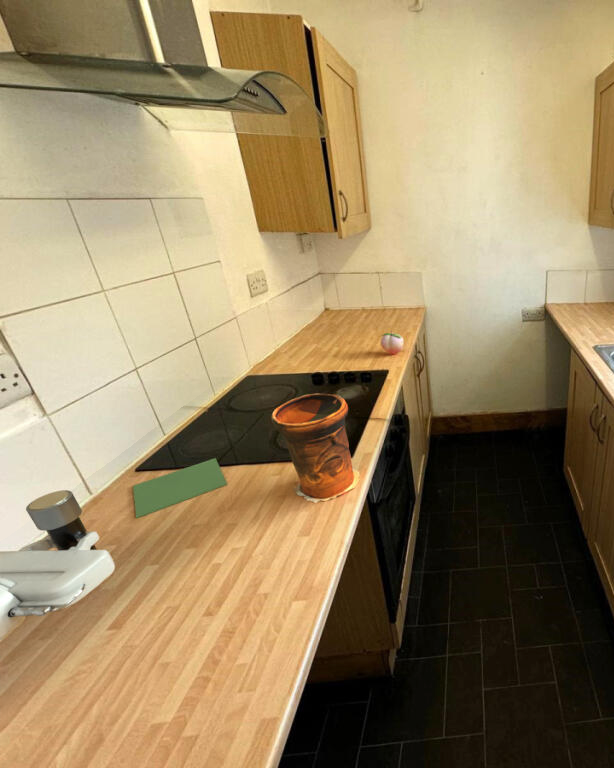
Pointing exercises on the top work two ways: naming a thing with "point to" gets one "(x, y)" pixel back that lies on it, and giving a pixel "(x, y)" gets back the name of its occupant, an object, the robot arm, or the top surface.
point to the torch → (58, 518)
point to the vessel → (317, 445)
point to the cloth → (177, 487)
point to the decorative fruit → (392, 342)
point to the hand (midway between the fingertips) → (77, 534)
